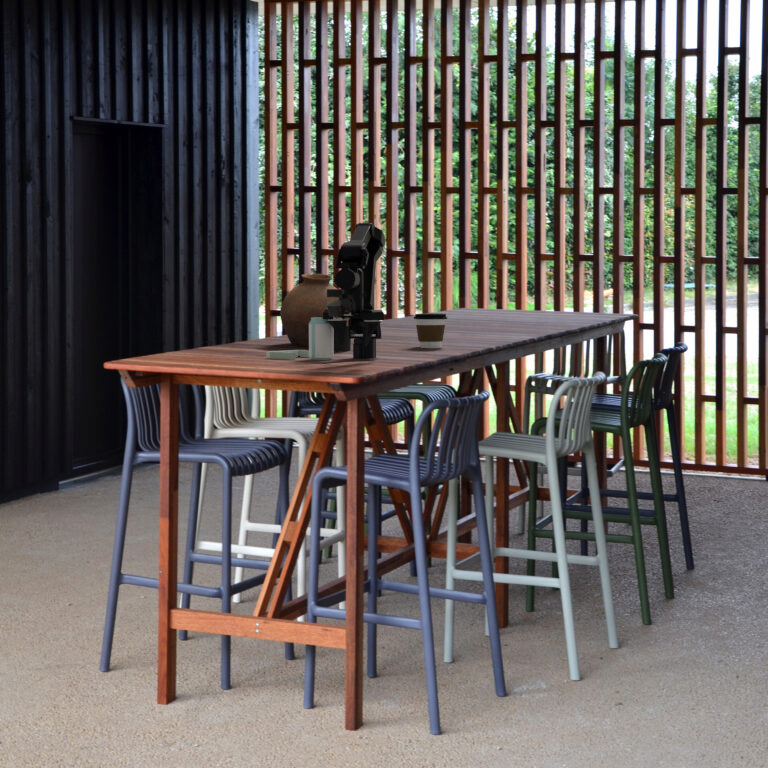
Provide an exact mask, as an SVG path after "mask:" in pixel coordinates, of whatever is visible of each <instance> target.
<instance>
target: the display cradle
mask: <svg viewBox="0 0 768 768" xmlns="http://www.w3.org/2000/svg"><path fill="white" fill-rule="evenodd" d="M265 353H266V354H265V355H266V358H265V359H270V360H273V359H274V360H290V361H291V360H292V361H294V360H296V358H309V349H308V350H306V349H291V350H290V349H288V350H270V351H269V350H268V351H266V352H265ZM298 356H300V357H298Z"/></svg>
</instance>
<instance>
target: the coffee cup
mask: <svg viewBox="0 0 768 768" xmlns="http://www.w3.org/2000/svg"><path fill="white" fill-rule="evenodd" d="M413 319H414V320H415V322H416V325H415V327H416V334H417V341H418V343H419V344H418V345H419V348H422V349H440V348H442V344H443V340H444V334H445V328H446V320H447V319H448V316H447V314H446V313H415V314H414V317H413Z"/></svg>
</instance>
